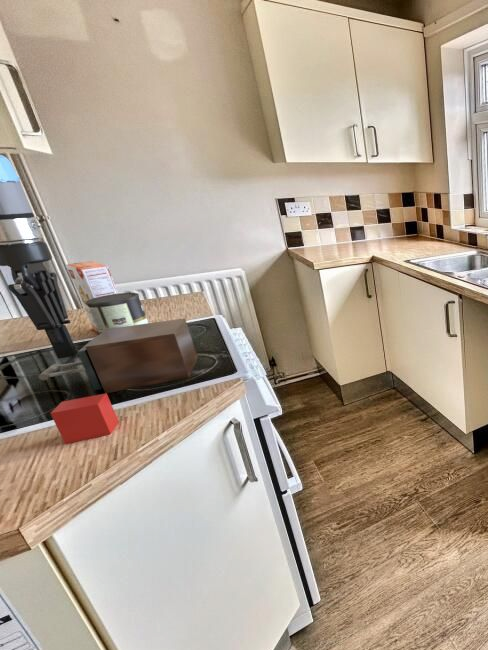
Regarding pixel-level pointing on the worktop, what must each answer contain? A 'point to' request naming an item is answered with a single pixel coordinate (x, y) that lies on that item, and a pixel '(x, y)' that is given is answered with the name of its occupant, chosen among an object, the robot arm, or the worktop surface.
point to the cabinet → (143, 355)
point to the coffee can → (117, 311)
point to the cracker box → (91, 283)
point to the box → (85, 418)
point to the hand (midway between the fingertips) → (68, 356)
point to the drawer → (87, 367)
